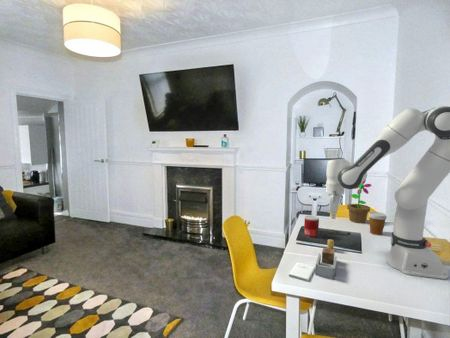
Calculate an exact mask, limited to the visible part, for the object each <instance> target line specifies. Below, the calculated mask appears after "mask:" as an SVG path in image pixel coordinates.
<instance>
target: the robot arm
mask: <svg viewBox="0 0 450 338" xmlns="http://www.w3.org/2000/svg"><path fill="white" fill-rule="evenodd" d="M423 131H428V132H430V133H431V134H434V136H435V138H434V141H433V143H432V145H430V147H429V148H427V150H426V152H425V153H424V154H423V156H422V157H421V158H420V160H418V162H417V163H416V165H415V166H414V167H413V168H412V169H411V171H410V172H409V173H408V174H407V176H406V177H405V178H404V180H403V181H402V182H401V183H400V184H399V185H398V187H397V188H396V190H395V191H394V200H395V202H396V208H395V212H394V213H395V214H394V220H393V221H394V222H393V230H392V233H391V236H390V245H391V246H390V250H389V253H388V256H387V258H386V263H387V264H388V265H389V266H391V267H392V268H394V269H396V270H398V271H401V272H402V273H404V274H405V275H410V276H415V277H416V276H417V277H424V278H430V279H431V278H432V279H440V280H448V279H449V277H448V276H449V271H448V270H447V268H445V267H444V266H443V263H442V260H441V258H440V256H439V255H438V254H437V253H436V252H434V251H433V250H431V247H432V244H431V242H429V241H428V239H426V238H425V237H424V230H425V221H426V216H427V215H426V214H427V209H428V208H427V207H428V200H429V198H430V197H431V196H432V195H433V193H435V191H436V190H437V189H438V188H439V186H440V185H441V184H442V182H443V181H444V180H445V178H446V177H448V176H449V174H450V106H448V105H447V106H446V105H442V106H437V107H433V108H430V109H428V110H424V111H420V110H419V109H416V108H411V107H410V108H406V109H404V110H402V111H401V112H400V113H399V114H398V115H396V116H395V117H393V118H392V120H390V121H388V123H387V124H386V125H385V126H384V127H383V129H382V130H381V131H380V133H379V134H378V135H377V136H376V138H375V139H374V141H373V142H372V143H371V145H370V146H369V148H368V149H367V150H366V151H365V152H364V153H363V154H362V155H361V156H360V157H359V158H357V160H356V161H355V162H354V163H353V162H351V161H349V160H347V159H346V158H344V157H334V158H331V159H329V160H328V161H327V165H326V181H325V193H326V194H328V197H329V205H328V206H329V207H328V211H329V212H330V214H331V215H330V216H331V219H333V220H335V219H336V214H337V213H338V210H339V204H340V200H341V198H342V197H343V195H344V194H345V191H346V190H355V188H357V187H358V186H359V185H360V184H362V182H364V181H365V180H367V176H368V171H369V170H370V169H371V168H373V166H375V165H376V164H377V163H378V162H379V161H380V160H382V159H383V158H385V157H386V156H388V155H390V154H393V153H395V152H396V151H398V150H400V149H401V148H403V147H404V146H405V145H406V144H407V143H409V141H411V140H412V139H413V137H415V136H416V135H417V134H418V133H421V132H423ZM365 182H366V181H365ZM345 189H346V190H345ZM357 189H358V188H357ZM447 278H448V279H447Z"/></svg>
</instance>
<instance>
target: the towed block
mask: <svg viewBox="0 0 450 338" xmlns="http://www.w3.org/2000/svg"><path fill="white" fill-rule="evenodd" d="M334 244H335V240H334V239H331V238H330V239H327V246H326V247H323V248H322V252H321V263H324V264H331V265H333V264H334V258H335V251H336V250H335V248H334V246H335V245H334Z"/></svg>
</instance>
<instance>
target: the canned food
mask: <svg viewBox="0 0 450 338" xmlns="http://www.w3.org/2000/svg"><path fill="white" fill-rule="evenodd" d="M319 223H320V218H319V216H316V215H308V214H307V215H305V216H304V226H303V227H304V231H303V234H304V236H305V235H306V236H305V237H307V236H310V237H309V238H317V237H318V236H319V225H320V224H319ZM316 236H317V237H316Z"/></svg>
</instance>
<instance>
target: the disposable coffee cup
mask: <svg viewBox="0 0 450 338" xmlns="http://www.w3.org/2000/svg"><path fill="white" fill-rule="evenodd" d="M387 218H388V217H387V214H385V213H383V212H378V211H370V212H368V220H369V233H370V234H372V235H376V236H381V235H382V234H383V232H384V227H385V223H386V219H387Z"/></svg>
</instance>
